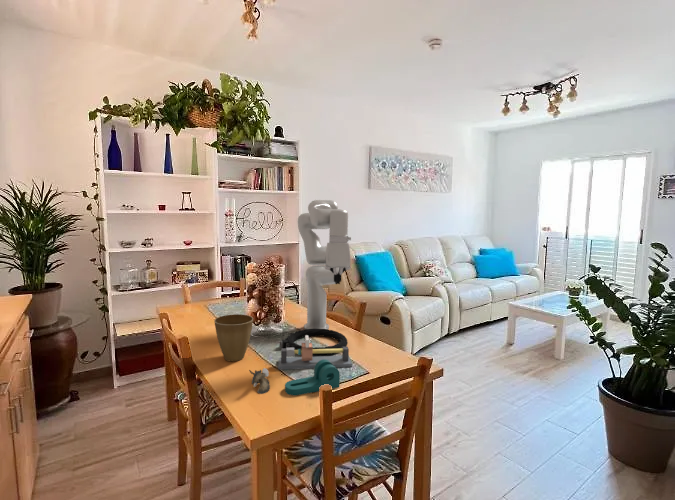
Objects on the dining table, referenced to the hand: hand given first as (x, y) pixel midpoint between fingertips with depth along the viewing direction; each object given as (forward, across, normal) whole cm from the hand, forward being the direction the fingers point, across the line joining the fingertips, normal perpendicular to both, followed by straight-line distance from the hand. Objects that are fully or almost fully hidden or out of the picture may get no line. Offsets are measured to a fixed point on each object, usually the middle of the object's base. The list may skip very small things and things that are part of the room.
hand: (337, 283), depth 158 cm
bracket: (+30, +13, +32) cm, 45 cm away
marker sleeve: (+27, +13, +13) cm, 32 cm away
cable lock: (+30, +9, -7) cm, 32 cm away
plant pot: (+29, +42, +4) cm, 51 cm away
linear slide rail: (+29, +10, +13) cm, 33 cm away
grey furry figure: (+29, +30, +30) cm, 52 cm away
